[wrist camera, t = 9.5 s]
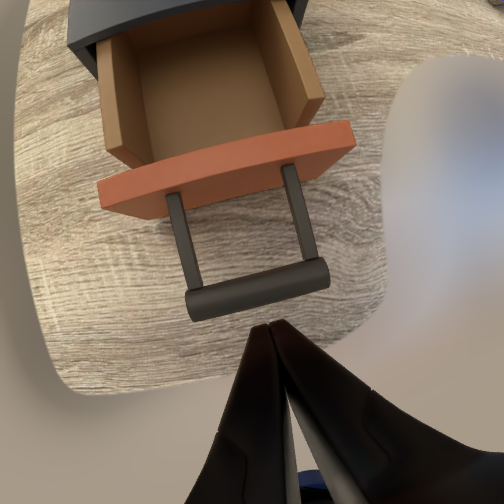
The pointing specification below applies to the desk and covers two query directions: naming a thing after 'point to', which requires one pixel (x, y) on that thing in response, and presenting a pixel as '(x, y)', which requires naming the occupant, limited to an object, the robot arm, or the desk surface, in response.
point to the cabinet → (132, 20)
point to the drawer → (218, 133)
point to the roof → (496, 2)
